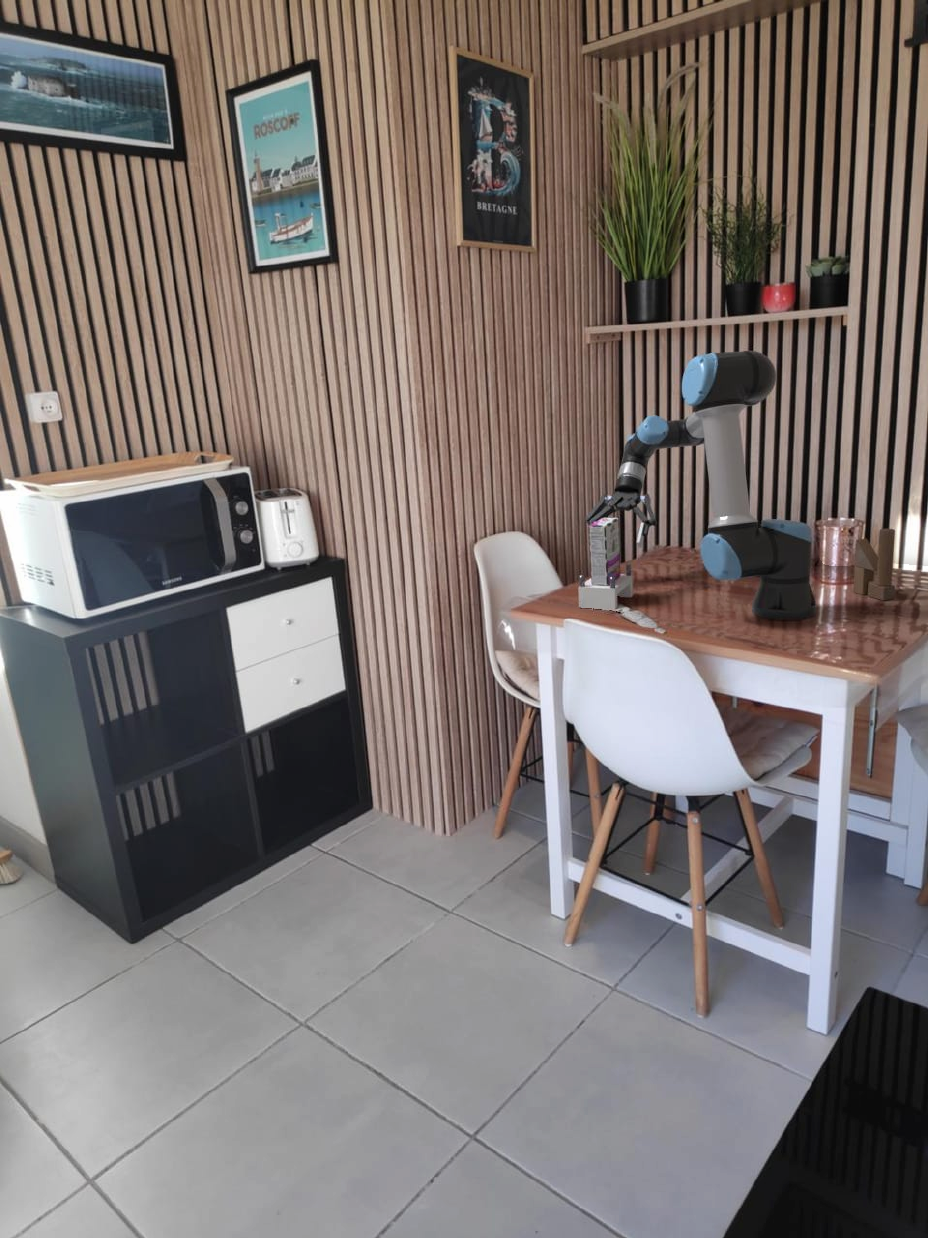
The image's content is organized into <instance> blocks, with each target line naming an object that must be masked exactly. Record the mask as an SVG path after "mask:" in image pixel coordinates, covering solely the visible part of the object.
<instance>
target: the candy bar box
mask: <svg viewBox="0 0 928 1238" xmlns="http://www.w3.org/2000/svg"><path fill="white" fill-rule="evenodd" d="M619 525H620V524H619V518H618V517H607V518H601V519H600V520H598V521H596V522H595V523H593V524H591V525H590V524H589V525H588V533H589V536H588V538H589V540H590V542H589V551H590V553H589V555H590V576H591V577H590V578H591V581H592V585H599V586H608V585H610V576H615V580H616V579H617V578H618V577H620V576H621V575H620V574H621V557H620V555H621V554H620V529H619V527H620V526H619Z"/></svg>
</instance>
